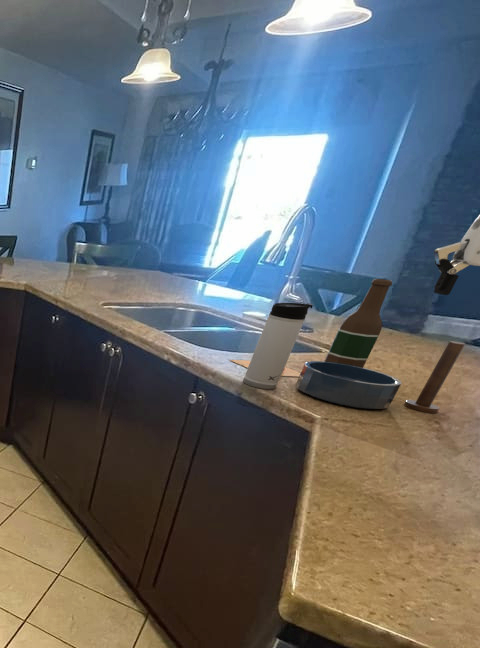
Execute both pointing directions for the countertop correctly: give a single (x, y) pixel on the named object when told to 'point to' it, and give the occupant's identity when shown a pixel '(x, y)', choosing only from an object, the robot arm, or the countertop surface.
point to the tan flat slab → (285, 373)
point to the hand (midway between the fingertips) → (473, 296)
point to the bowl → (348, 385)
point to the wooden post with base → (436, 379)
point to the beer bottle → (360, 328)
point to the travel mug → (275, 344)
